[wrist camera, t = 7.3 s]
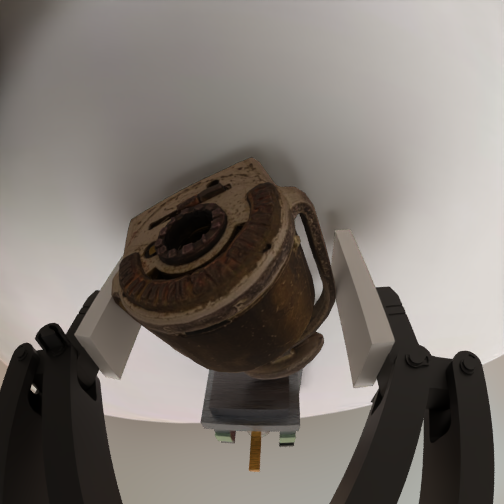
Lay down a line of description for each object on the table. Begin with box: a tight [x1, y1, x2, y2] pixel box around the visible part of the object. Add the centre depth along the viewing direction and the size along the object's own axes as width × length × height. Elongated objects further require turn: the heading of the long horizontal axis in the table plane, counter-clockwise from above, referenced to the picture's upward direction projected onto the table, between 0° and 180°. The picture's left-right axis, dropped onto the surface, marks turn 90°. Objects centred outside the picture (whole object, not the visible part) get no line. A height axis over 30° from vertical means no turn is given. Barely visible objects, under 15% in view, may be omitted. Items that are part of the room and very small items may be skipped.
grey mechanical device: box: [209, 371, 290, 472], centre depth 19 cm, size 10×5×8 cm, turn 4°
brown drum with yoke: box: [111, 157, 336, 380], centre depth 12 cm, size 7×13×10 cm
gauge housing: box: [201, 368, 303, 447], centre depth 21 cm, size 8×8×7 cm
